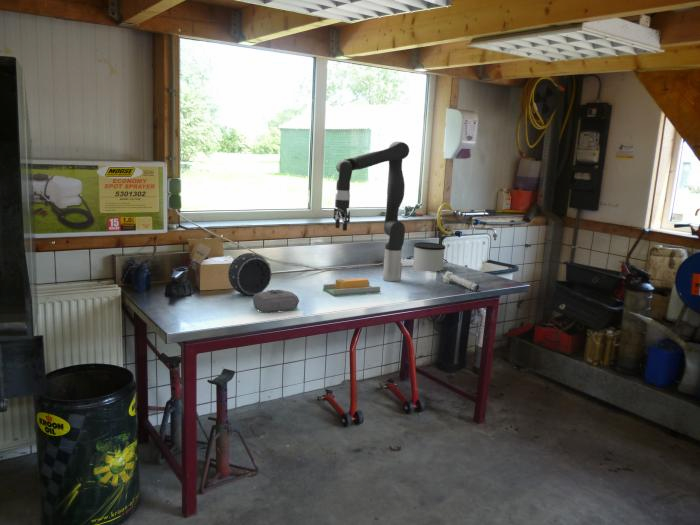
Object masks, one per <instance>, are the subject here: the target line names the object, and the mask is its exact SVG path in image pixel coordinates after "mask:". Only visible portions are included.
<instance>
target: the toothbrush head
mask: <svg viewBox="0 0 700 525" xmlns="http://www.w3.org/2000/svg"><path fill="white" fill-rule="evenodd" d="M442 280H443V283H445V282H446V284H453V282H455V283H457V284H458V285H461V286H463V287H465V288H467V289H469V290H470V289H471V290H470V291H472V290H473V292H478V291H479V290H480V285H479V284H477V283H475V281H471V280H468V279H465V278H463V277H461V276H458V275H456V274H454V273H453V272H452V271H448V270H447V271H445V274H444V275H443V276H442ZM477 290H478V291H477Z"/></svg>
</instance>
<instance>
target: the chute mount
mask: <svg viewBox="0 0 700 525" xmlns="http://www.w3.org/2000/svg"><path fill="white" fill-rule="evenodd" d="M335 284H336V283H325V284H324V283H323V288H322V290H323V291H324V292H325V293H327V294H330V295H332V296H333V297H343V296H344V297H345V296H356V295H355V294H358V295H367V293H370V294H380V293H381V286H378V285H377V286H371V285H370V281H369V282H368V287H362V288H349V289H335ZM379 292H380V293H379Z"/></svg>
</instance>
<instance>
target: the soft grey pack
mask: <svg viewBox="0 0 700 525" xmlns="http://www.w3.org/2000/svg"><path fill="white" fill-rule="evenodd" d="M299 303H300V299H299V297H298V295H296V294H295V293H294V292H292V291H288V290H283V289H271V290H266V291H263V292H261V293H258V294H255V295H254V296H252V304H253V306H254V309H255V308H256V309H255V310H257V311H258V310H259V311H258V312H260V311H261V312H260V313H271V312H272V313H279V312H278V311H283V312H288V310H289V311H292V310H296V309H298V305H299Z"/></svg>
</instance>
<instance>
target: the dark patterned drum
mask: <svg viewBox="0 0 700 525" xmlns="http://www.w3.org/2000/svg"><path fill="white" fill-rule="evenodd" d="M227 271H228V273H227V275H228V276H227V278H228V281H229V283H230V285H231V287H232V288H233V289H234V290H235V291H236V292H238V293H239V294H241V295H244V296H251V297H253V296H254V295H255V294H258V293H262V292H265V290H266V289H267V287H268V286H269V285H270V282H271V281H272V280H271V279H272V275H273V274H272V269H271V264H270V263H269V262H268V261H267V259H265V258H264V256H262V255H261V254H257V253H253V252H245V253H241V254H240V255H237V257H235V258H234V259H233V260H232V261H231V263H230V265H229V268H228V270H227Z"/></svg>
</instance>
